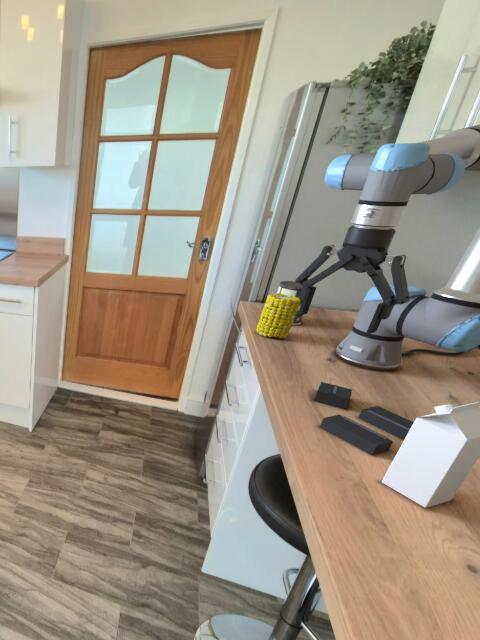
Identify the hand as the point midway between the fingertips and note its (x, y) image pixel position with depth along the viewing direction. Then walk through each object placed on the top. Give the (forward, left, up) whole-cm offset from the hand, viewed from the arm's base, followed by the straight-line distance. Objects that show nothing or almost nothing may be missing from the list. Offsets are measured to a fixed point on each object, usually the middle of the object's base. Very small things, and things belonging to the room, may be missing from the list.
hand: (335, 322), depth 98 cm
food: (-35, -38, -22) cm, 56 cm away
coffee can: (-52, -48, -22) cm, 74 cm away
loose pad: (-9, 0, -22) cm, 24 cm away
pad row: (-3, +14, -22) cm, 26 cm away
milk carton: (+10, +29, -22) cm, 38 cm away
